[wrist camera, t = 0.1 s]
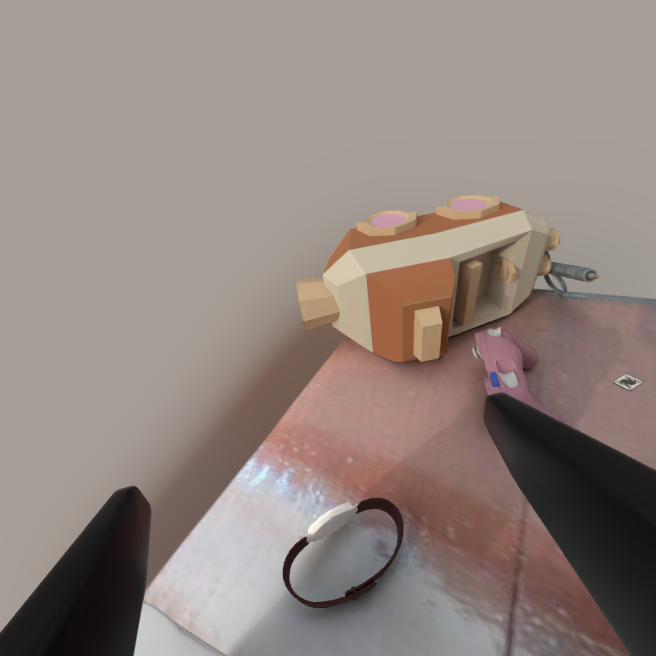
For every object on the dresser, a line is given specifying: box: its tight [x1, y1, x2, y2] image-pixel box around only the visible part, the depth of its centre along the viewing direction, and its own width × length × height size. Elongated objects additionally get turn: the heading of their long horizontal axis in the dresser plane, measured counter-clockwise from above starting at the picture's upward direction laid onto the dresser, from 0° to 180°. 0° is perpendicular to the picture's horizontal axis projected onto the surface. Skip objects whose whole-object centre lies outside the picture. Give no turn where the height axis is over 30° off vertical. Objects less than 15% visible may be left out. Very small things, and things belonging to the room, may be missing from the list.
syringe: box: [544, 251, 606, 294], centre depth 41 cm, size 8×18×2 cm
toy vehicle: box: [297, 195, 560, 362], centre depth 37 cm, size 12×28×15 cm
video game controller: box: [472, 327, 564, 423], centre depth 29 cm, size 10×5×7 cm, turn 168°
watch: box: [283, 498, 403, 608], centre depth 21 cm, size 8×5×4 cm, turn 118°
